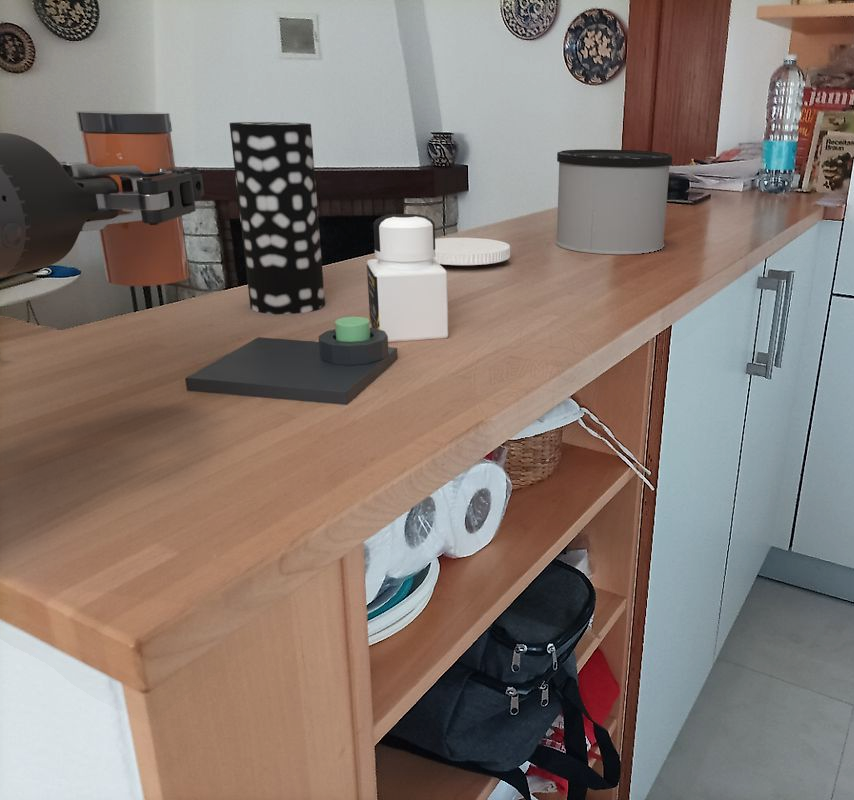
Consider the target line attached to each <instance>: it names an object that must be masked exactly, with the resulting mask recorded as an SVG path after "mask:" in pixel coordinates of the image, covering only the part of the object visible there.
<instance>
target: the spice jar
mask: <svg viewBox="0 0 854 800" xmlns="http://www.w3.org/2000/svg"><path fill="white" fill-rule="evenodd" d="M75 114H76V121H77V126H78V131H79V132H80V133H81V138H82V145H83V151H84V158H85V163H89V164H93V165H95V166H100V165H118V164H126V165H134V166H138V167H139V168H140V169H141V171H154V170H157V169H158V168H165V169H166V170H171V169H176V161H175V154H174V148H173V139H172V134H171V133H172V132H173V129H172V121H171V113H170V112H165V111H164V112H163V111H137V110H77V111H75ZM109 176H111V177H112V178H113V179H115V180H116V182H117V183H118V186H119V192H123V191H122V184H121V179H120V177H119V176H118V175H109ZM122 210H123V209H121V210H120V211H122ZM97 232H98V238H99V243H100V250H101V253H102V254H101V255H102V262H103V266H104V273H105V279H106V281H107V283H109V284H112V285H116V286H123V287H151V286H152V287H153V286H154V287H155V286H161V285H162V286H163V285H169V284H174V283H178V282H182V281H185V280H186V279H188V278H190V275H191V274H190V268H189V261H188V260H189V259H188V253H187V245H186V237H185V230H184V223H183V216H180V217H177V218H174V219H171V220H168V221H166V222H162V223H159V224H158V225H149V223H143V222H142V221H134V222H125V223H117V224H108V225H107V226H106V227H105V228H103V229H101V230H97Z"/></svg>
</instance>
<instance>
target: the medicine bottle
mask: <svg viewBox="0 0 854 800" xmlns="http://www.w3.org/2000/svg"><path fill="white" fill-rule="evenodd" d="M435 225H436V224H435V222H434V221H433V219H432V218H430V217H428V216H426V215H422V214H415V213H394V214H393V213H392V214H385V215H381V216H380V217H378V218H376V219H375V220H374V222H373V238H374V239H373V241H374V242H373V243H374V257H375V258H372V259H368V260H367V261H366V274H367V277H366V278H367V292H368V293H367V294H368V309H369V311H368V312H369V321H370V327H371V328H376V329H379V330H382V331H385V333H386V334H387V336H388V343H400V342H414V341H415V342H417V341H429V340H441V339H444V340H445V339H448V338H449V303H448V301H449V299H448V297H449V296H448V295H449V294H448V292H449V291H448V271H447V270H446V269H445V267H443V266H442V264H439V263H438V262H437V261H436V260H435V259H434V257H435V239H436V226H435Z"/></svg>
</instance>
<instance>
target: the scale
mask: <svg viewBox="0 0 854 800" xmlns="http://www.w3.org/2000/svg"><path fill="white" fill-rule="evenodd" d="M398 359H399V357H398V348H397V347H393V346H391V347H390V346H389V342H388V336H387V334H386V333H385V331H382V330H379V329H376V328H372V327H370V339H368V340H364V341H354V342H346V341H338V340H336V330H335V328H334V329H329V330H326V331H324V332H323V333H321V334H319V335H318V341H313V340H299V339H287V338H286V339H285V338H274V337H273V338H272V337H261V336H259V337H256V338H254V339H253V340H251V341H249V342H247V343H245V344H243V345H241V346H240V347H238V348H236V349H234V350H233V351H231V352H229V353H227V354H224V355H223V356H222V357H220V358H218V359H217V360H215V361H213V362H211V363H209V364H207V365H206V366H204V367H202V368H201V369H199V370H197V371H195V372H193V373H191V374H190V375H187V376H186V377H185V378H184V380H185V387H186V391H187V392H197V393H209V394H222V395H230V396H231V395H233V396H242V397H243V396H244V397H252V398H263V399H265V398H266V399H277V400H288V401H301V402H311V403H322V404H332V405H342V406H343V405H345V406H347V405H349V404H350V403H351V402H352V401H353V400H354V399H356V398H357V397H358V396H359V395H360V394H361V393H362V392H364V390H366V389H367V388H368V387H369V386H370V385H371V384H373V383H374V381H376V380H377V379H378V378H379V377H380V376H381V375H382V374H383V373H385V372H386V371H387V370H388V369H389V368H390V367H391V366H392V365H393V364H394V363H395V362H396V361H398Z"/></svg>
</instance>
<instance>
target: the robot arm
mask: <svg viewBox="0 0 854 800" xmlns="http://www.w3.org/2000/svg"><path fill="white" fill-rule="evenodd" d="M109 175H118V176H119V177H120V179H121V184H122V191H123V192H119V186H118V183H117V182H116V180H115V179H113V178H112V177H111V176H109ZM204 195H205V190H204V183H203V174H202V173H200V170H199V169H198V168H197V167H186V166H185V167H179V168H175V169H171V170H166V169H165V168H158V169H157V170H154V171H141V169H140V168H139V167H138V166H134V165H126V164H118V165H100V166H95V165H93V164H89V163H86V162H80V161H79V162H78V161H77V162H75V161H74V162H67V161H59V160H58V159H57V158H56V157H55V156H54V155H53V154H52V153H50V152H49V150H47V149H46V148H45V147H43V146H41V145H40V144H39V143H37V142H35V141H34V140H31V139H29V138H28V137H25V136H22V135H20V134H15V133H8V132H0V279H4V278H8V277H11V276H15V275H20V274H23V273H28V272H31V271H34V270H38V269H42V268H46V267H49V266H53V265H55V264H56V263H58V262H60V261H62V260H63V259H64V258H65V257H66V256H67V255H68V254H69V253H70V252H71V250H72V249H73V248H74V246H75V244H76V242H77V240H78V239H79V235H80V234H81V232H91V231H98V230H101V229H103V228H105V227H106V226H107V225H108V224H117V223H125V222H134V221H142V222H143V223H149V225H158V224H159V223H162V222H166V221H168V220H171V219H174V218H177V217H180V216H182V217H183V216H185V215H189V214H192V213H194V212H196V211H197V210H196V204H195V203H196V201H200V200H201V199H202V197H203V196H204ZM121 209H123V210H122V211H120V210H121Z"/></svg>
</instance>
